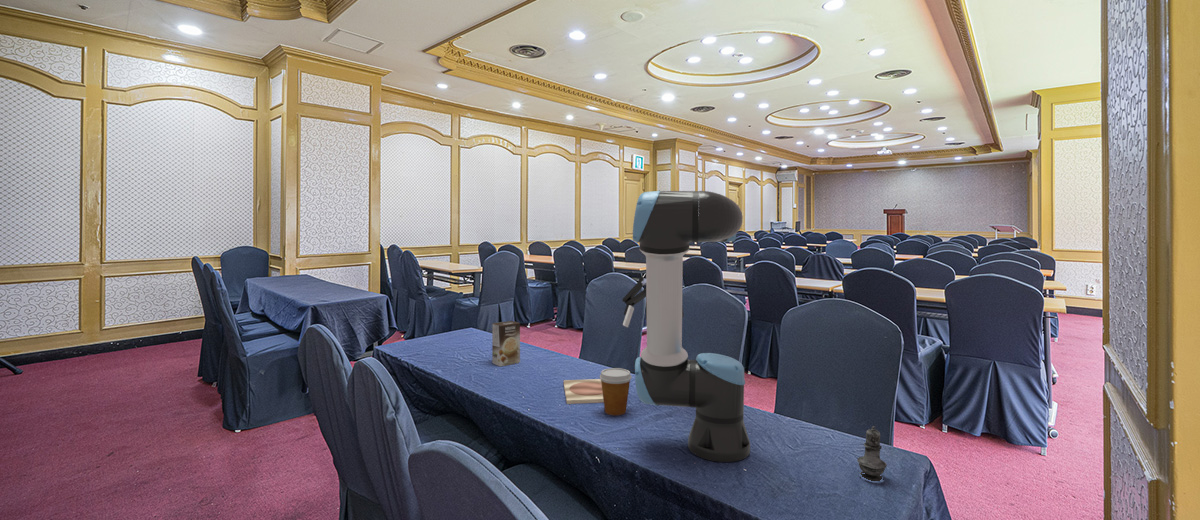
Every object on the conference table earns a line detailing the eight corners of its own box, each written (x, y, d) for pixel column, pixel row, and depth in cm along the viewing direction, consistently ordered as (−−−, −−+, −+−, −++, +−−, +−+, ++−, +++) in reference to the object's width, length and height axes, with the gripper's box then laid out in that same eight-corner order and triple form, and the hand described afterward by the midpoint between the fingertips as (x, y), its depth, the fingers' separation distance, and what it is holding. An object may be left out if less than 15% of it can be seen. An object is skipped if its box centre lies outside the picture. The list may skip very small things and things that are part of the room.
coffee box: (500, 367, 205) (499, 325, 204) (491, 363, 210) (491, 323, 209) (520, 362, 211) (520, 322, 210) (512, 359, 216) (511, 320, 215)
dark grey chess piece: (853, 478, 119) (856, 426, 118) (859, 468, 124) (862, 418, 123) (883, 487, 116) (885, 433, 115) (888, 476, 120) (891, 424, 119)
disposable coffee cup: (628, 418, 154) (629, 378, 153) (596, 416, 156) (596, 375, 155) (633, 407, 163) (633, 368, 162) (602, 404, 165) (602, 366, 164)
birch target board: (617, 401, 167) (617, 397, 167) (566, 403, 166) (566, 399, 165) (609, 382, 187) (609, 378, 187) (563, 383, 185) (563, 379, 185)
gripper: (705, 279, 166) (685, 344, 161) (635, 264, 178) (614, 324, 173) (699, 271, 159) (678, 338, 154) (626, 256, 172) (604, 318, 167)
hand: (644, 331), depth 164 cm, fingers open, 13 cm apart
